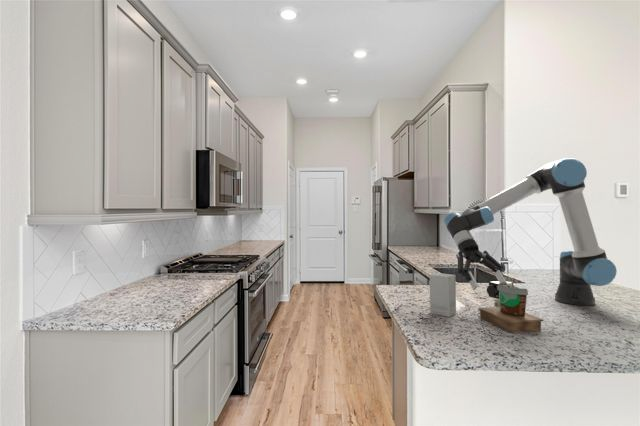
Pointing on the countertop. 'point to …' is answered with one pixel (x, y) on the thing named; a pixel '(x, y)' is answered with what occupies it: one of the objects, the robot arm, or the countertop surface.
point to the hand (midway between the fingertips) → (490, 286)
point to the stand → (510, 320)
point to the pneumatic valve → (495, 291)
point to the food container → (512, 300)
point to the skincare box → (443, 294)
